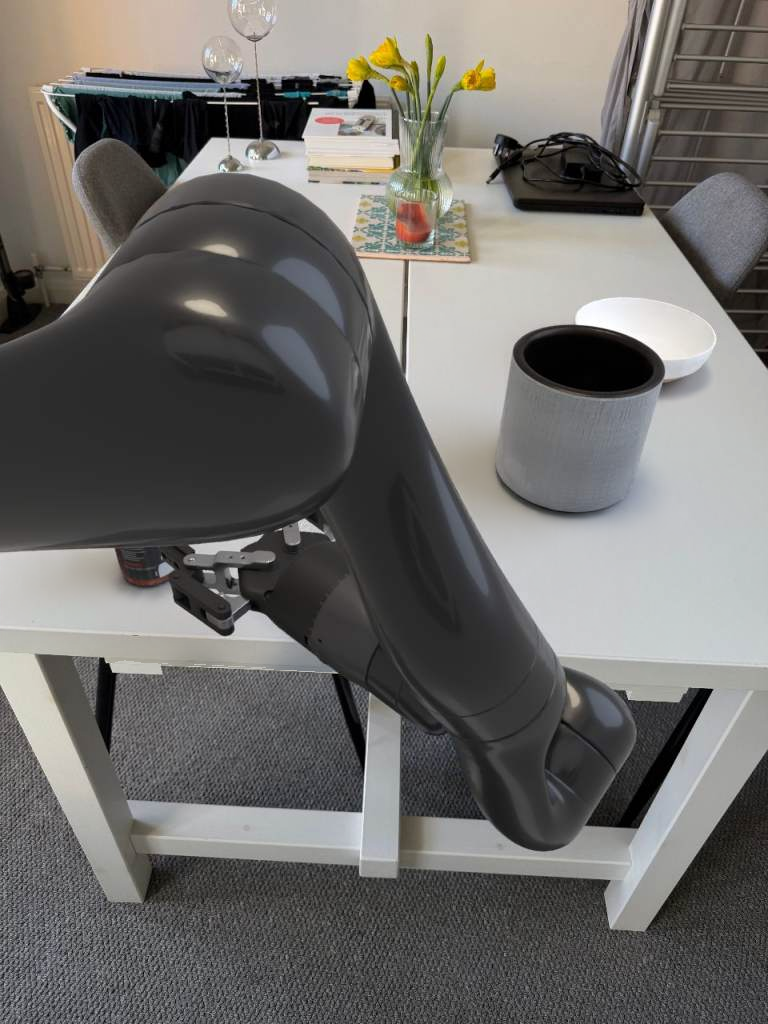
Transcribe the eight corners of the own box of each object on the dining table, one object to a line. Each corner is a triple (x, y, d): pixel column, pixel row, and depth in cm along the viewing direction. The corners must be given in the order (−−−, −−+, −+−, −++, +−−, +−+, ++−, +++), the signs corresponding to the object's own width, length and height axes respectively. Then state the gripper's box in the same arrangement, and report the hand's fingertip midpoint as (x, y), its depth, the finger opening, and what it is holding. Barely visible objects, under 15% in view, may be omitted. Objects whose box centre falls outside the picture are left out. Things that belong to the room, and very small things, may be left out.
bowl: (652, 327, 117) (662, 290, 113) (732, 388, 103) (747, 349, 99) (543, 343, 112) (549, 305, 108) (611, 409, 98) (622, 368, 94)
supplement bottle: (188, 580, 72) (168, 490, 65) (125, 595, 70) (98, 505, 63) (177, 541, 76) (158, 453, 69) (118, 555, 75) (92, 466, 67)
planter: (549, 421, 95) (571, 309, 85) (657, 478, 86) (697, 361, 76) (465, 470, 87) (480, 352, 77) (576, 539, 78) (609, 416, 68)
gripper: (417, 526, 53) (268, 439, 61) (271, 639, 45) (121, 522, 53) (413, 596, 58) (275, 508, 66) (280, 710, 50) (142, 593, 58)
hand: (207, 514), depth 60 cm, fingers open, 8 cm apart
